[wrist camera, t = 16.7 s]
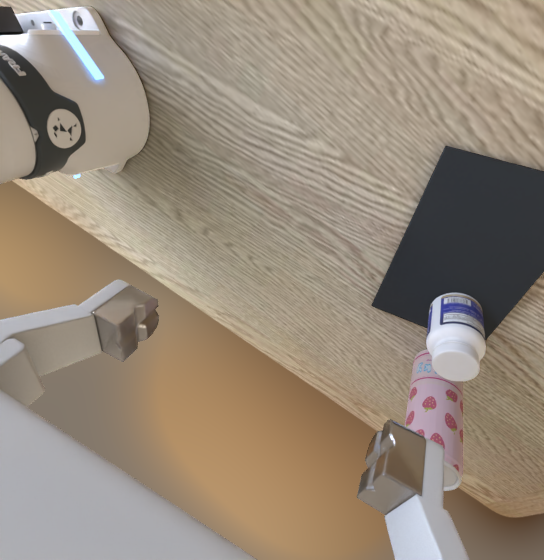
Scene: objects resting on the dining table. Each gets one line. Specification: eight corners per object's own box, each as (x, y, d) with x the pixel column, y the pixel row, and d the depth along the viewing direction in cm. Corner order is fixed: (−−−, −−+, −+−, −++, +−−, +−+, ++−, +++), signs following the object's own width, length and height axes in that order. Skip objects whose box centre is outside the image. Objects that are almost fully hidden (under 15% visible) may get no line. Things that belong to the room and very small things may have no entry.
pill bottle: (457, 335, 39) (456, 394, 33) (419, 310, 40) (411, 363, 33) (495, 310, 36) (502, 370, 29) (453, 282, 36) (452, 336, 30)
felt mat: (372, 304, 43) (371, 306, 42) (445, 145, 30) (445, 146, 30) (478, 346, 39) (478, 348, 39) (610, 189, 27) (612, 190, 27)
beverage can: (460, 347, 41) (460, 462, 29) (464, 380, 43) (466, 499, 32) (410, 345, 44) (394, 450, 32) (417, 376, 46) (403, 483, 35)
